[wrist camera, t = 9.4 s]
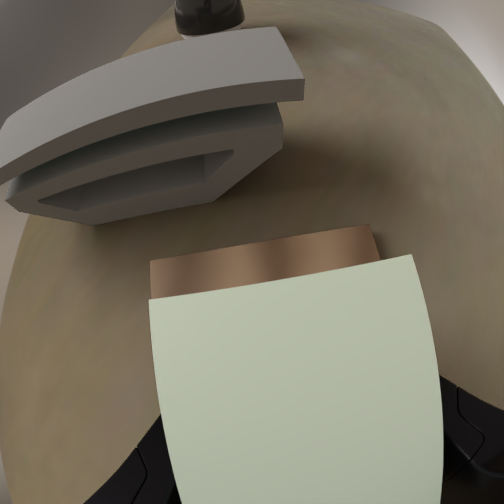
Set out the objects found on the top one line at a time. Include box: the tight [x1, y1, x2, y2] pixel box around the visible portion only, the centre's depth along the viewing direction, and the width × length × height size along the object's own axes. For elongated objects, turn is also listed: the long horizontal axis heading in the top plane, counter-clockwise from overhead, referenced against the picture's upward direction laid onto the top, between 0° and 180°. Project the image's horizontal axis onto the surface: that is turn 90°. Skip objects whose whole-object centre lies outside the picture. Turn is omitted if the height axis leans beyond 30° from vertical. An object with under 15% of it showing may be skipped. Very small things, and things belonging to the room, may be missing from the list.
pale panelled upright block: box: [149, 254, 443, 504], centre depth 8 cm, size 4×6×11 cm
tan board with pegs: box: [150, 224, 381, 299], centre depth 15 cm, size 16×18×4 cm
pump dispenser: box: [174, 0, 245, 39], centre depth 26 cm, size 10×10×15 cm
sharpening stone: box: [0, 27, 305, 226], centre depth 19 cm, size 25×8×11 cm, turn 97°
